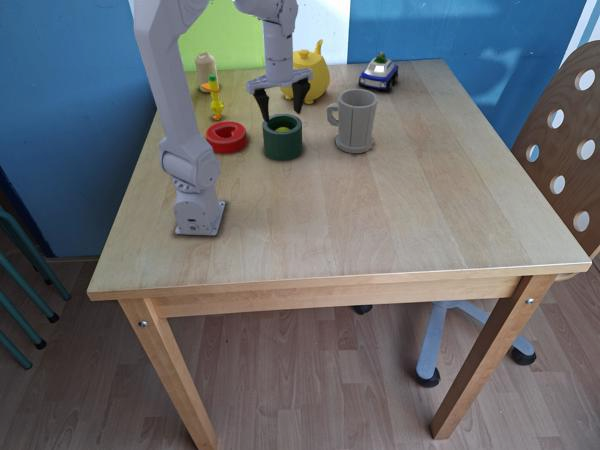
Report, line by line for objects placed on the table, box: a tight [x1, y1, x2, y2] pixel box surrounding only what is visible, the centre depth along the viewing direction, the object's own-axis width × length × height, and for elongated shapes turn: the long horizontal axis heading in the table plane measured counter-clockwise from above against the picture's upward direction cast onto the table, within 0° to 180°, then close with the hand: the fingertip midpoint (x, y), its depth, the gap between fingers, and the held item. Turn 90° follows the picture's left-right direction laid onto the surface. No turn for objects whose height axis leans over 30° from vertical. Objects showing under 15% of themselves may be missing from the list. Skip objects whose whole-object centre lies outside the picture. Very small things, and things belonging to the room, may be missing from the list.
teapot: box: [278, 39, 331, 105], centre depth 117 cm, size 13×20×12 cm
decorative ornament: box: [205, 120, 248, 154], centre depth 102 cm, size 10×10×3 cm
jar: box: [261, 113, 303, 162], centre depth 98 cm, size 9×9×7 cm
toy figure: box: [201, 74, 225, 121], centre depth 108 cm, size 7×4×12 cm, turn 57°
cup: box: [326, 88, 379, 154], centre depth 98 cm, size 10×9×12 cm
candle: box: [194, 51, 220, 93], centre depth 121 cm, size 6×6×10 cm
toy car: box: [358, 51, 400, 92], centre depth 121 cm, size 9×12×10 cm
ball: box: [276, 127, 290, 132], centre depth 99 cm, size 5×5×5 cm
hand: (281, 116), depth 95 cm, fingers open, 7 cm apart
